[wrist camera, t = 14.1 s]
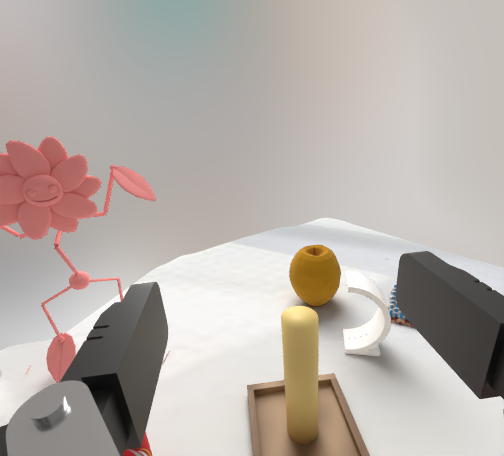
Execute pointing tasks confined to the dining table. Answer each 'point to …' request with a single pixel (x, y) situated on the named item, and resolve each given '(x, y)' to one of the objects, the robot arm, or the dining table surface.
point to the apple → (315, 274)
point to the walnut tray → (329, 422)
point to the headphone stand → (377, 328)
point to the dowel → (301, 372)
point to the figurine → (56, 211)
